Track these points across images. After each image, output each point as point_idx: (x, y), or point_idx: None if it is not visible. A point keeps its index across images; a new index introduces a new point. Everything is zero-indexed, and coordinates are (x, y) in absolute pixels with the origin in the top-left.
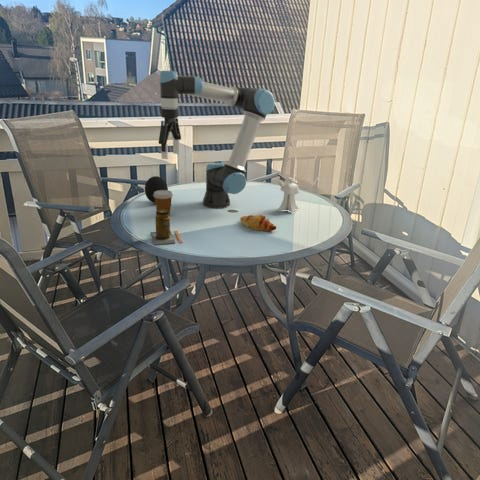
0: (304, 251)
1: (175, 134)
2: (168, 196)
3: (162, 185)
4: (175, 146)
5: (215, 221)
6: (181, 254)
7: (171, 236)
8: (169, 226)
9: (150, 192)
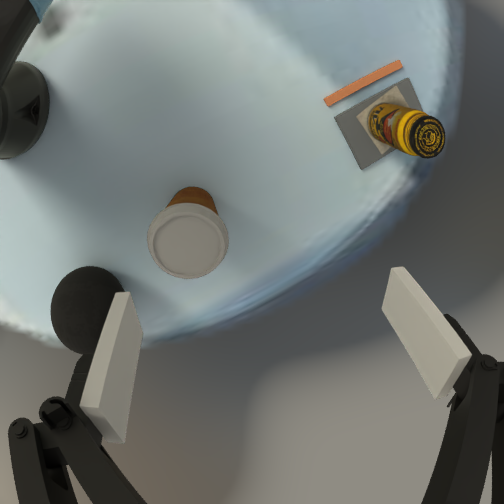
0: None
1: (132, 491)
2: (203, 209)
3: (86, 298)
4: (125, 367)
5: (178, 16)
6: (452, 51)
7: (379, 98)
8: (400, 106)
9: None
